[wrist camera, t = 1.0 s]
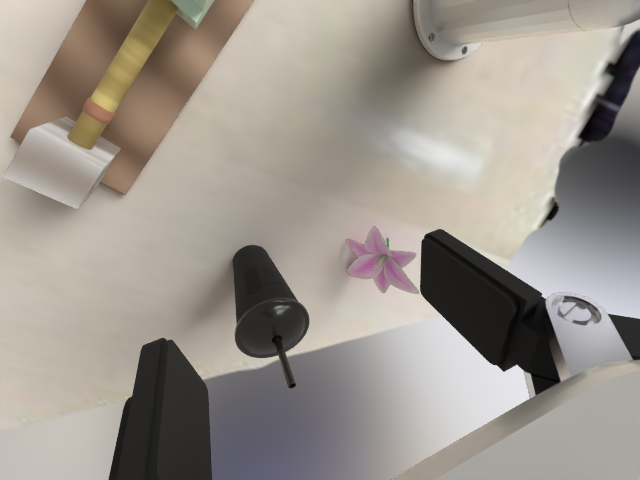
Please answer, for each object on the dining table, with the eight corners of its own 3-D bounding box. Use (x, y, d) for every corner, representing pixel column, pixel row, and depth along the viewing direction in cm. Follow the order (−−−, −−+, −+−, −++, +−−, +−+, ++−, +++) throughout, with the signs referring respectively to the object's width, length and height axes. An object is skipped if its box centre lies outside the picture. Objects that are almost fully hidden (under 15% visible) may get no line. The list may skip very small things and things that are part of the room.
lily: (360, 198, 43) (360, 239, 36) (430, 222, 45) (444, 266, 38) (333, 251, 51) (329, 294, 44) (394, 270, 52) (399, 315, 45)
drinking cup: (214, 277, 39) (231, 419, 23) (233, 229, 37) (268, 349, 21) (265, 286, 43) (310, 413, 27) (286, 243, 41) (349, 354, 25)
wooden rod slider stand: (181, -155, 21) (177, -264, 14) (275, -34, 26) (306, -72, 19) (18, 134, 25) (-45, 156, 18) (128, 190, 30) (110, 223, 24)
